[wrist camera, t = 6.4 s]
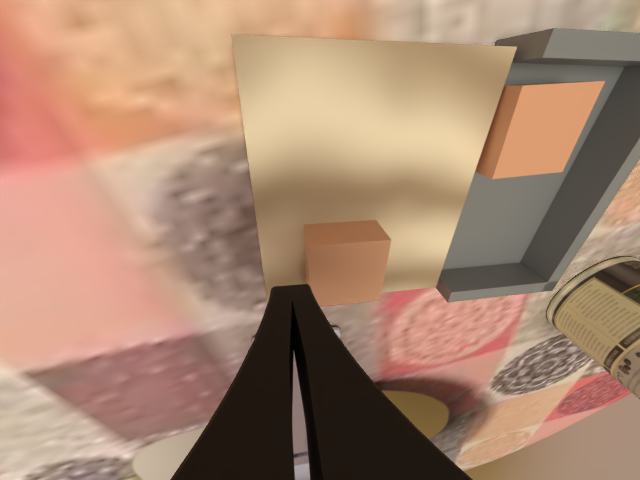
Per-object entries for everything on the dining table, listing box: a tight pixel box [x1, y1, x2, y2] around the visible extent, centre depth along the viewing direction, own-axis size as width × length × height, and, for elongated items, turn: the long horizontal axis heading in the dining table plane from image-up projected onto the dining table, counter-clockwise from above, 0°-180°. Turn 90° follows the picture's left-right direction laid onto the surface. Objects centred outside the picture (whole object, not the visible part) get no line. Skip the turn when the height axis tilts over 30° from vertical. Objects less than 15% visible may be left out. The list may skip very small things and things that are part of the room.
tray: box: [436, 28, 640, 302], centre depth 17 cm, size 16×9×3 cm, turn 179°
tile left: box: [304, 220, 391, 307], centre depth 15 cm, size 4×4×2 cm
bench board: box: [231, 34, 517, 304], centre depth 16 cm, size 15×13×2 cm
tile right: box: [475, 81, 605, 179], centre depth 14 cm, size 4×4×2 cm
